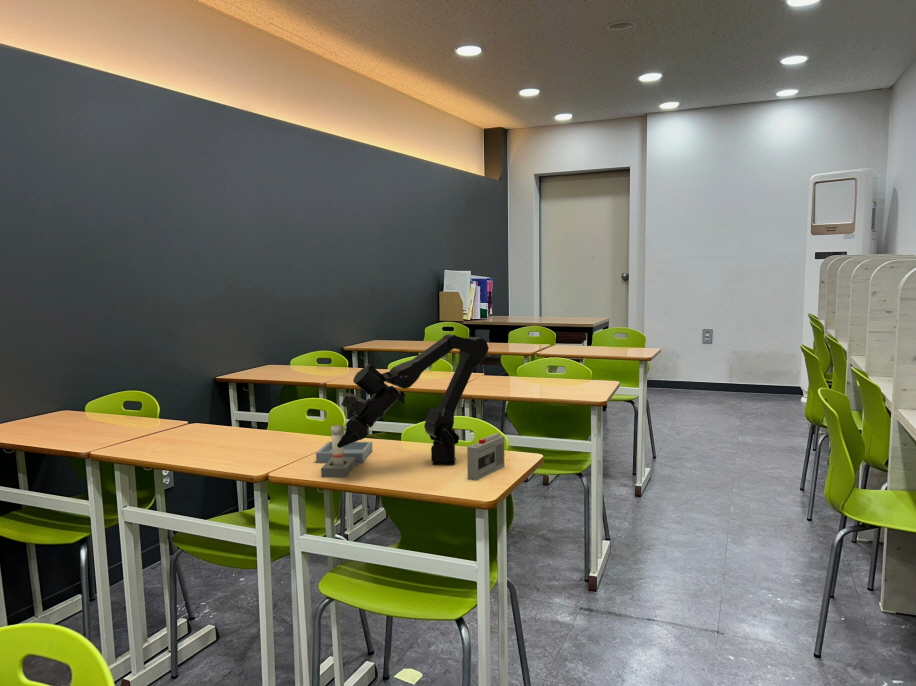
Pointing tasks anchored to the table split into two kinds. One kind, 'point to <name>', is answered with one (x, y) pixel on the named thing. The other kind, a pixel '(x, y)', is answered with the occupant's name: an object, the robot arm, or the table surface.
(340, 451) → the cup
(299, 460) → the table surface
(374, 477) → the table surface
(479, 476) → the cassette player
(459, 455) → the table surface
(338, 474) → the block
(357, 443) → the tray
